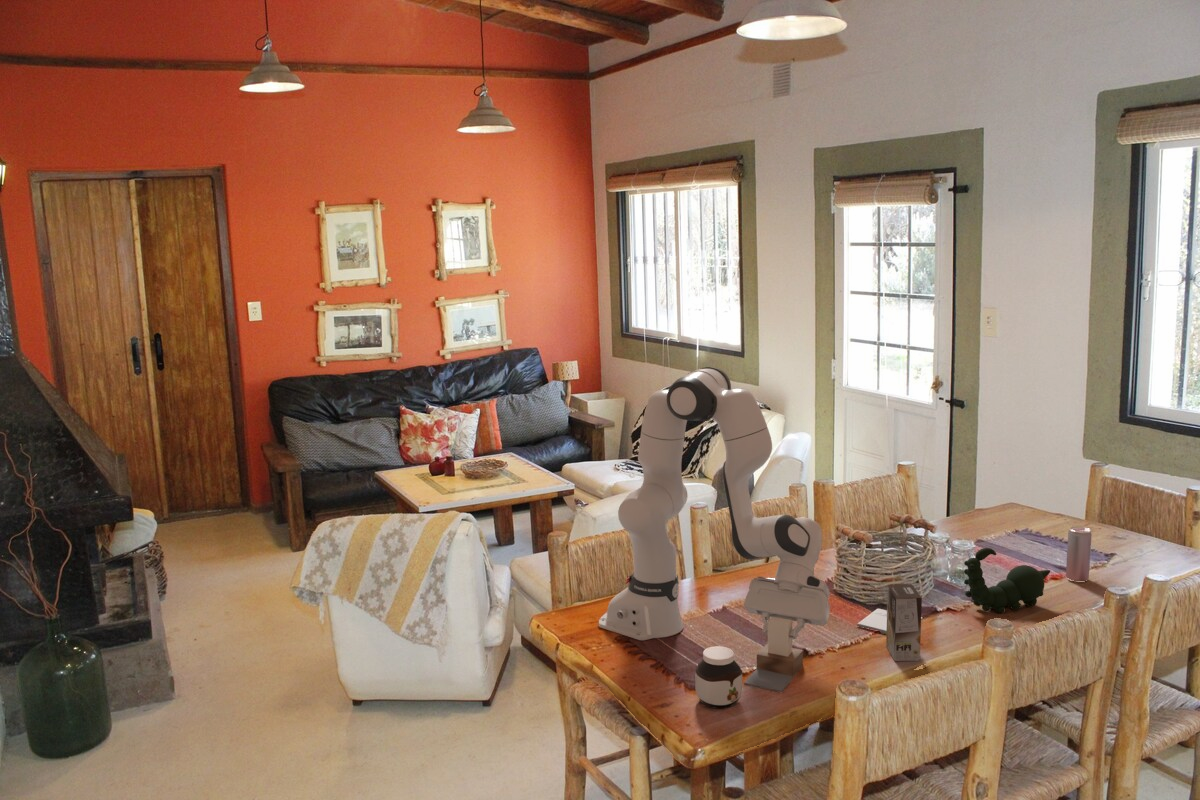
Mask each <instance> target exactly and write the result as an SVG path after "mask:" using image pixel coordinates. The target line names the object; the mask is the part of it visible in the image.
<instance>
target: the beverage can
mask: <svg viewBox="0 0 1200 800" xmlns="http://www.w3.org/2000/svg"><path fill="white" fill-rule="evenodd" d="M1092 536H1093V535H1092V530H1091V529H1090V528H1088V527H1085V526H1076V525H1075V526H1071V527H1069V530H1068V533H1067V547H1066V548H1067V551H1066V552H1067V553H1066V563H1065V564H1066V566H1065V569H1066V570H1065V577H1067V578H1069V579H1071V580H1074V581H1086V580H1088V581H1089V579H1090V567H1091V565H1090V563H1091V549H1092V547H1091V546H1092ZM1067 578H1066V579H1067Z"/></svg>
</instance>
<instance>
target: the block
mask: <svg viewBox="0 0 1200 800" xmlns="http://www.w3.org/2000/svg"><path fill="white" fill-rule="evenodd" d="M767 623H768V634H767V643H768V653H772V654H777V655H782V656H787V657H788V656H789V655H790V654H791V652H792V648H793V638H790V637H789V633H790V629H793V621H792V620H789V619H784V618H778V617H770V619H769V620H767Z"/></svg>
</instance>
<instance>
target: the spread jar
mask: <svg viewBox="0 0 1200 800" xmlns="http://www.w3.org/2000/svg"><path fill="white" fill-rule="evenodd" d="M742 670H743V669H742V668H741V666H740V665H739V663H738V662H737V661H736V660H735V653H734V651H733V649H731V648H729V647H726V646H719V645H717V646H709V647H707V648H706V649H704V650H703V652H702V659H701V661H700V662H699V663H698V665H697V666H696V668H695V673H694V674H695V675H694V687H695V693H696V696H697V697H698V699H699V700H700V701H701V703H703V704H704V705H706V706H707V707H709V708H712V709H715V710H717V709H718V710H719V709H720V710H721V709H722V710H723V709H728V708H731V707H732V706H734V705H735V704H736V703H737V702H738V701H739V700H740V698H741V697H742V694H743V672H742Z"/></svg>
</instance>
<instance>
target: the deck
mask: <svg viewBox="0 0 1200 800" xmlns="http://www.w3.org/2000/svg"><path fill="white" fill-rule="evenodd" d="M803 666H804V650H803V649H800V648H794V647H792V652H791V654H790V655H789V656H788V657H787V656H782V655H777V654H772V653H768V642H767V643H766V644H765V645H764V646H763V647H762V648H761V649H760V650H759V652H757V653H756V669H761V670H766V671H771V672H776V673H780V674H785V675H790V676H793V678H795V676H796V675H797V674H798V673H799V671H800V670H801V669H802V668H803Z"/></svg>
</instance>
